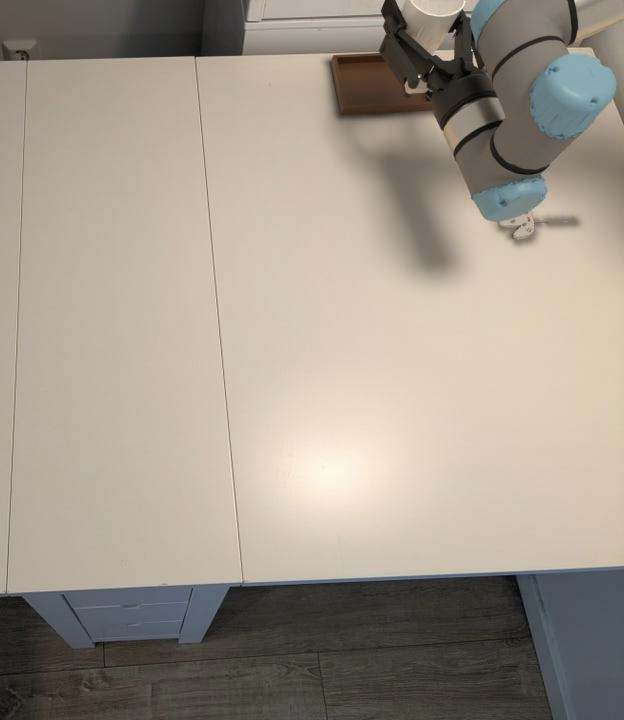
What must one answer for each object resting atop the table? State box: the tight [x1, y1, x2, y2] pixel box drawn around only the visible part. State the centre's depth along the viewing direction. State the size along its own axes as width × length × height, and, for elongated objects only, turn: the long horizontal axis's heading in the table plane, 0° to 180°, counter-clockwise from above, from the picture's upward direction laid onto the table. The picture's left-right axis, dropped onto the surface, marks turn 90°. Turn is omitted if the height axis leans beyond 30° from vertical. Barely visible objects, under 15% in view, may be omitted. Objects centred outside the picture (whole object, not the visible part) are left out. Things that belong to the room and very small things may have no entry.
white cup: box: [400, 0, 466, 56], centre depth 83 cm, size 8×8×10 cm
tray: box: [330, 52, 433, 116], centre depth 99 cm, size 12×16×2 cm
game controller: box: [498, 210, 569, 240], centre depth 90 cm, size 6×12×3 cm, turn 109°
